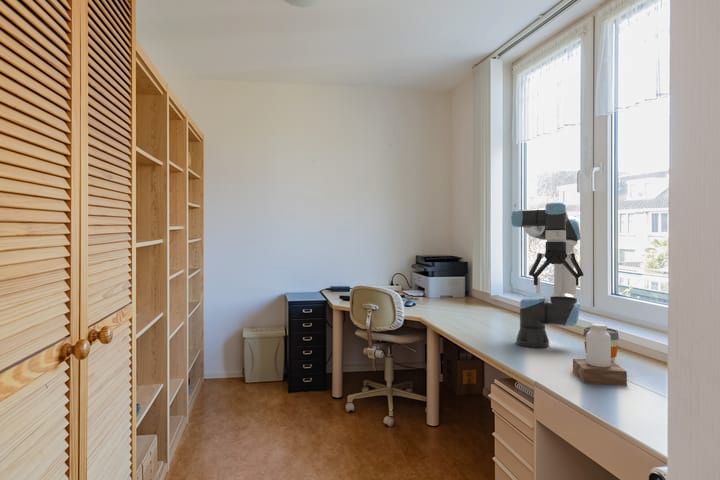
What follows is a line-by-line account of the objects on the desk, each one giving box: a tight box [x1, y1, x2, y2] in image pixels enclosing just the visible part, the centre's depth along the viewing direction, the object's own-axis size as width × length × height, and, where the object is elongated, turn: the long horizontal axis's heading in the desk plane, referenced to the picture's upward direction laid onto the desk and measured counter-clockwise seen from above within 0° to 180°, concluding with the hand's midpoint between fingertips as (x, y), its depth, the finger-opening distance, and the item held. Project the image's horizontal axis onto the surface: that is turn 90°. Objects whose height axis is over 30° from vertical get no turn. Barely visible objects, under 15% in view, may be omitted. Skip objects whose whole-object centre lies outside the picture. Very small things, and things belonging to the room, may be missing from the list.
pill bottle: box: [586, 323, 611, 367], centre depth 160 cm, size 8×8×15 cm
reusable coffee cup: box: [583, 326, 620, 363], centre depth 175 cm, size 13×13×15 cm
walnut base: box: [572, 358, 628, 386], centre depth 160 cm, size 14×14×5 cm
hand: (555, 293), depth 173 cm, fingers open, 13 cm apart
